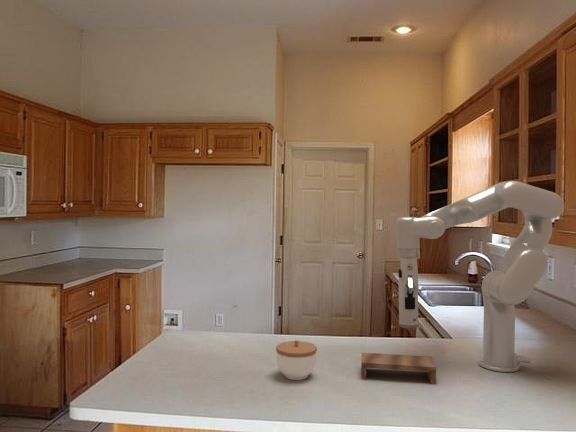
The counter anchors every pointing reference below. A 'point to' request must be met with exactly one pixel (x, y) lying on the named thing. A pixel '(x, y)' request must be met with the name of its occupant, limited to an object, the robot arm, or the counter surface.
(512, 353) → the robot arm
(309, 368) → the lidded bowl
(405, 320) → the travel mug
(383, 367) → the riser shelf
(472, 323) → the counter surface
